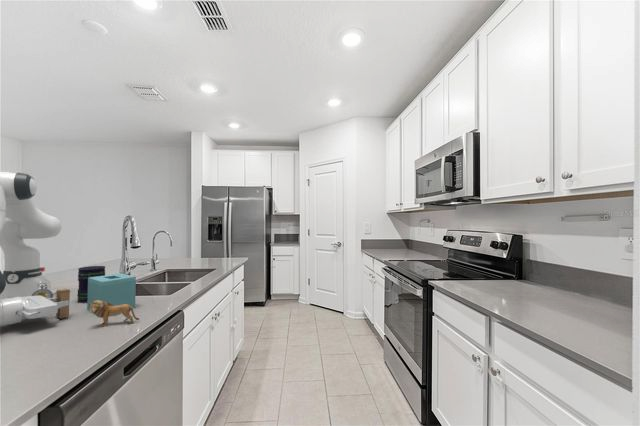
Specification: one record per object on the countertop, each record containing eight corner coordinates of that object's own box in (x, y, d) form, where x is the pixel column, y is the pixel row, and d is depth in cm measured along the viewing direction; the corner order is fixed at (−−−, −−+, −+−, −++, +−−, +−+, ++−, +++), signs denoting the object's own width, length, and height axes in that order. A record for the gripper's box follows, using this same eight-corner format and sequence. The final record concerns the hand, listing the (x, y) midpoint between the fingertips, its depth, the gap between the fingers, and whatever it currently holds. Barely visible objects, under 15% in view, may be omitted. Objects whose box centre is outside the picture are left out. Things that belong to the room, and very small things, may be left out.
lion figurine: (87, 330, 95) (87, 303, 95) (91, 324, 99) (92, 299, 100) (138, 323, 101) (139, 298, 101) (140, 318, 106) (141, 294, 106)
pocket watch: (38, 311, 113) (39, 286, 113) (22, 310, 115) (23, 285, 115) (60, 305, 121) (61, 282, 121) (45, 304, 123) (46, 281, 123)
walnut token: (55, 316, 107) (56, 289, 107) (64, 314, 109) (65, 288, 109) (60, 318, 104) (61, 291, 104) (68, 316, 106) (69, 290, 106)
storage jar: (72, 301, 127) (73, 268, 127) (95, 296, 136) (96, 265, 136) (86, 304, 123) (87, 270, 124) (109, 298, 132) (110, 266, 133)
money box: (87, 309, 116) (88, 277, 117) (120, 302, 126) (120, 273, 127) (101, 315, 109) (102, 281, 109) (135, 307, 119) (135, 276, 119)
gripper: (21, 306, 90) (76, 297, 102) (6, 296, 101) (57, 288, 113) (20, 326, 90) (75, 314, 101) (5, 314, 101) (56, 304, 112)
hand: (65, 301), depth 107 cm, fingers closed on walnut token, 5 cm apart
